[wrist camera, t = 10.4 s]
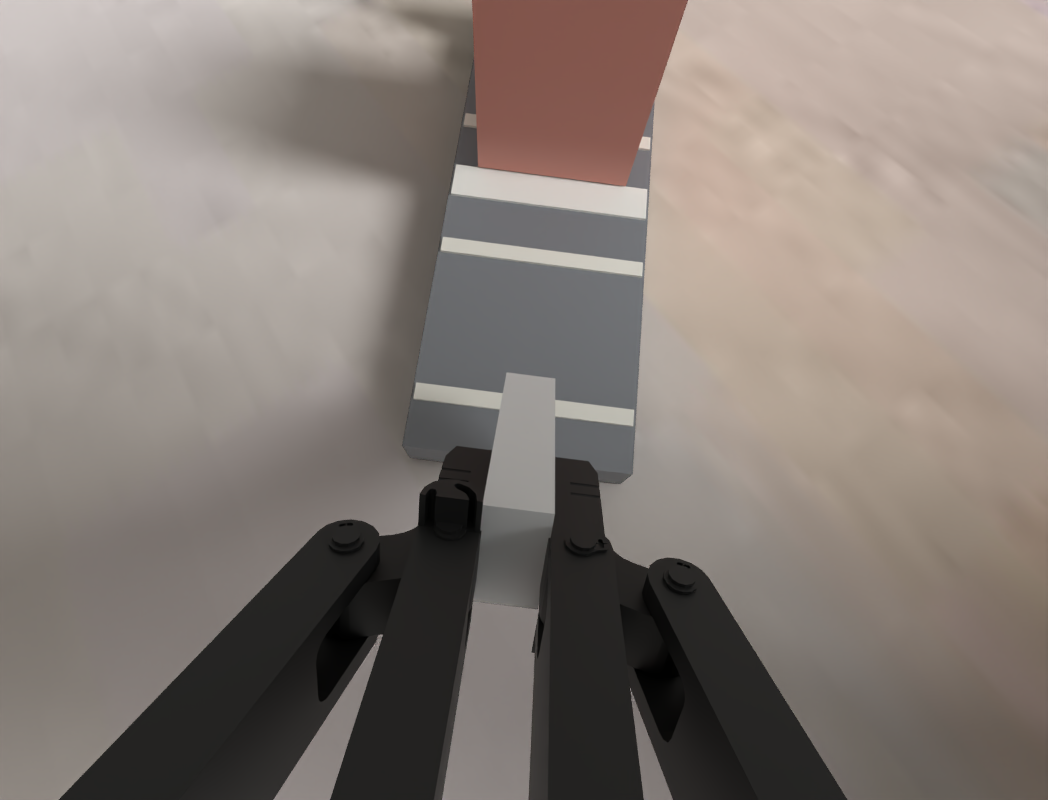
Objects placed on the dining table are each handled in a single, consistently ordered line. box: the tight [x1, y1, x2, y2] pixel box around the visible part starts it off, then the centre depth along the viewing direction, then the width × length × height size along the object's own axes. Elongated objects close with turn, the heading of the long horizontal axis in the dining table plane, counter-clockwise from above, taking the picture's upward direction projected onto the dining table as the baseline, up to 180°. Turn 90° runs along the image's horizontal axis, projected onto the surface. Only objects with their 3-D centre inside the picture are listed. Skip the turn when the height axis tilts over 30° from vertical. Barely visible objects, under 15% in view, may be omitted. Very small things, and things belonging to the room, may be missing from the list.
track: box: [402, 60, 654, 484], centre depth 23 cm, size 22×8×5 cm, turn 173°
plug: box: [472, 0, 688, 186], centre depth 20 cm, size 6×6×10 cm
